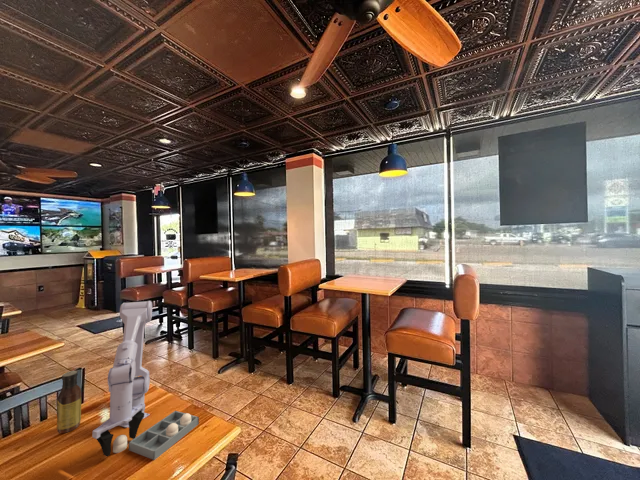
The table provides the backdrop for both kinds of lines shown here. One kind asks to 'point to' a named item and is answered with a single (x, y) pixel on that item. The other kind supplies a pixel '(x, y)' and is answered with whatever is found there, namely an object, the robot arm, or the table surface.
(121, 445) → the egg
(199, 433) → the table surface
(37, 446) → the table surface
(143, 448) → the carton
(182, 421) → the egg
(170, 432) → the egg
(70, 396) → the sauce bottle
